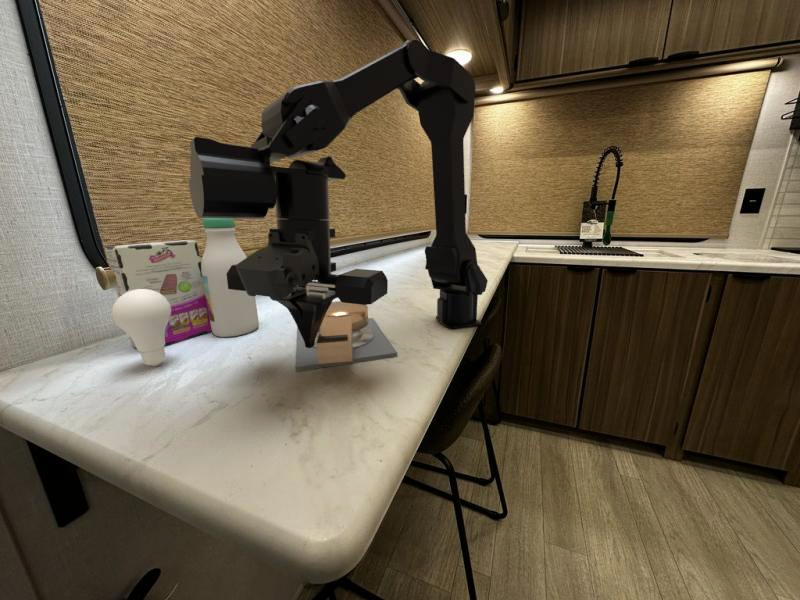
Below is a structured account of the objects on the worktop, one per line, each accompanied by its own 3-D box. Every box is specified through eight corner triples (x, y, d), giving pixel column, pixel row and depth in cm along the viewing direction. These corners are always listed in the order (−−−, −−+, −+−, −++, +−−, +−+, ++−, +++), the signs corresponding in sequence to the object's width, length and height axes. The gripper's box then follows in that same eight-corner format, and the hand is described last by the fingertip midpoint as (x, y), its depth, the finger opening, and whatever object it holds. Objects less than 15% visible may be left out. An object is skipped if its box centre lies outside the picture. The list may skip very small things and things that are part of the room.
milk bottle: (267, 323, 61) (252, 217, 56) (244, 338, 53) (225, 217, 48) (229, 323, 62) (211, 218, 56) (202, 337, 54) (178, 218, 49)
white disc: (366, 324, 57) (366, 313, 57) (379, 345, 48) (379, 333, 47) (307, 331, 55) (306, 320, 54) (309, 355, 45) (307, 342, 44)
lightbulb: (117, 372, 42) (95, 293, 40) (163, 353, 48) (147, 283, 45) (147, 379, 40) (126, 296, 38) (192, 359, 46) (176, 285, 43)
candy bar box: (201, 326, 60) (184, 239, 56) (215, 331, 57) (199, 240, 53) (129, 347, 51) (102, 245, 47) (142, 353, 48) (115, 246, 44)
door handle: (315, 317, 54) (313, 301, 53) (367, 313, 55) (366, 298, 55) (296, 365, 37) (293, 342, 36) (373, 359, 38) (372, 337, 37)
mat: (372, 320, 61) (372, 314, 61) (397, 356, 45) (397, 348, 45) (297, 329, 57) (297, 323, 57) (296, 371, 41) (295, 363, 41)
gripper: (172, 217, 31) (195, 362, 35) (345, 223, 25) (348, 394, 30) (255, 217, 41) (265, 329, 45) (390, 222, 36) (387, 348, 40)
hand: (310, 346), depth 40 cm, fingers closed
